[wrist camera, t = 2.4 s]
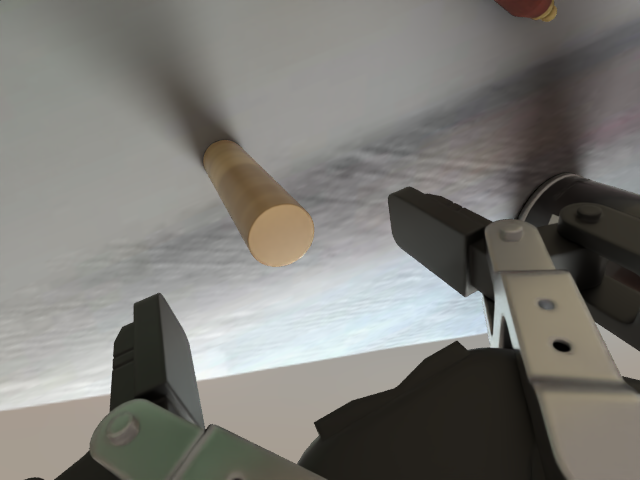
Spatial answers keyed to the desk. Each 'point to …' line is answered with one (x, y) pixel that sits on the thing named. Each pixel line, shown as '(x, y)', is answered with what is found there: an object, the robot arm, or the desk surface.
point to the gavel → (530, 8)
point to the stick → (258, 206)
